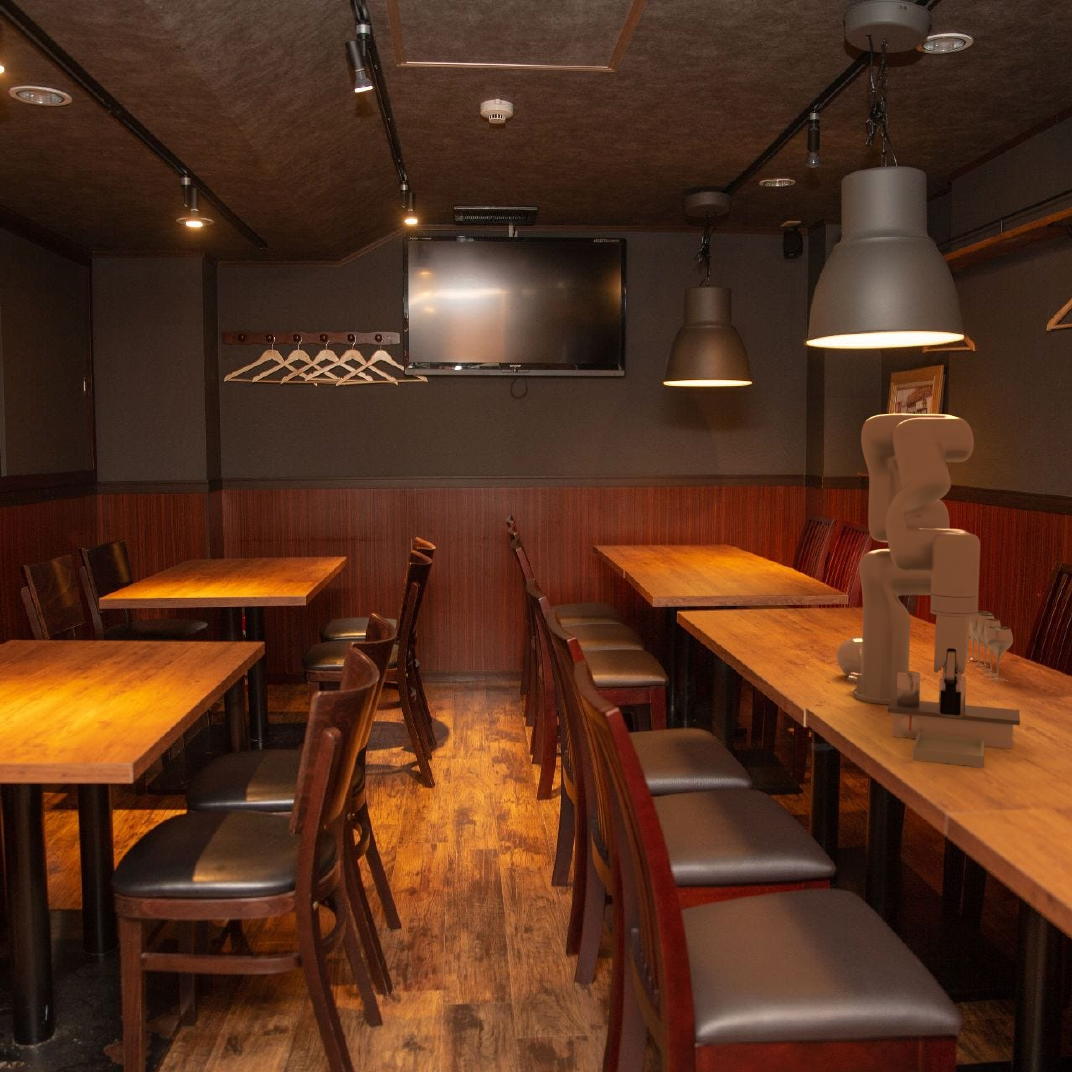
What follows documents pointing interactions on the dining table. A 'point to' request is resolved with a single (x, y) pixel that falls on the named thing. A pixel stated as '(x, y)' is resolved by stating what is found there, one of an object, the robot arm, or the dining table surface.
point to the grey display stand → (956, 722)
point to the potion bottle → (850, 655)
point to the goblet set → (989, 639)
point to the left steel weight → (908, 688)
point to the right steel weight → (962, 686)
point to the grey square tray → (949, 749)
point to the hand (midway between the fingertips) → (950, 710)
